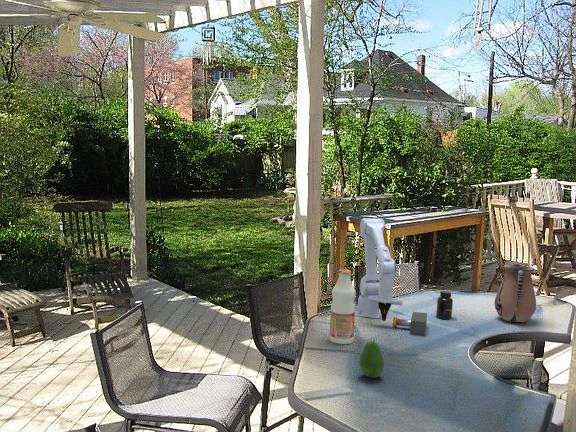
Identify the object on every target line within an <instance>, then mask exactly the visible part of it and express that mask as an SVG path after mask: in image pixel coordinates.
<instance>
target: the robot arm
mask: <svg viewBox="0 0 576 432" xmlns="http://www.w3.org/2000/svg"><path fill="white" fill-rule="evenodd" d="M385 225H386V223H385V220H384V218H382V217H380V218H367V217H363V218H361V220H360V223H359V228H360V229H359V230H360V231H359V232H360V237H361V238H363V243H364V256H365V257H364V259H365V260H364V261H365V274H364V276H363V277H362V278H361V279H360V284H359V291H360V295H359V296H358V301H357V317H361V318H362V317H363V318H370V319H379V317H380V316H381V322H386V321H387V315H388V313H389V311H390V309H391V308H392V305H396V306H399V307H402V306H403V301H404V300H401V299H396V298H393V291H394V290H393V289H394V288H393V287H394V276H395V274H396V273H397V263H396V261H395V260H394V259H393V258H392V256H391V252H390V249H389V247H388V246H386V244H385V243H386V242H385V240H384V238H385V237H384V234H383V233H384V231H385ZM377 262H378V264H377Z"/></svg>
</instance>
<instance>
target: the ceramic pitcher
mask: <svg viewBox="0 0 576 432" xmlns="http://www.w3.org/2000/svg"><path fill="white" fill-rule="evenodd" d="M503 268H504V269H505V273H504V275H503V276H504V277H503V278H502V281H501V284H500V286H499V288H498V290H497V292H496V295H495V298H494V308H495V311H496V313H497V315H498V316H499V317H500V318H501V319H502V320H504V321H506V322H508V321H511V322H510V323H513V322H522V323H525V322H527V321H529V319H531V318H532V317H533V315H534V314H535V312H536V311H537V309H536V308H537V300H536V293H535V288H534V284H533V279H532V274H533V272H534V271H535V269H536V268H534V267H532V266H529V265H528V266H527V265H524V266H522V265H520V264H517V263H516V264H515V263H514V264H504V265H503Z"/></svg>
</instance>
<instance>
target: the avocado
mask: <svg viewBox="0 0 576 432" xmlns="http://www.w3.org/2000/svg"><path fill="white" fill-rule="evenodd" d="M384 367H385V360H384V357H383V353H382V351H381V348H380V346H379V344H378V343H377V342H375V341H372V340H371V341H368V342H366V343H365V345H364V348H363V349H362V352H361V354H360V357H359V368H360V370H361V373H362V374H363V375H364V376H366V377H367V378H374V379H375V378H378V377H379V376H381V375H382V373H383V371H384Z"/></svg>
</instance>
